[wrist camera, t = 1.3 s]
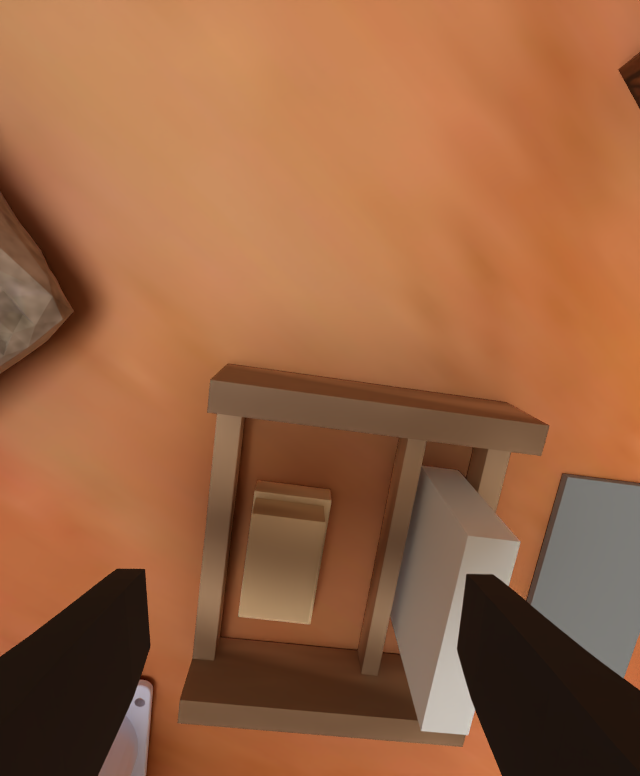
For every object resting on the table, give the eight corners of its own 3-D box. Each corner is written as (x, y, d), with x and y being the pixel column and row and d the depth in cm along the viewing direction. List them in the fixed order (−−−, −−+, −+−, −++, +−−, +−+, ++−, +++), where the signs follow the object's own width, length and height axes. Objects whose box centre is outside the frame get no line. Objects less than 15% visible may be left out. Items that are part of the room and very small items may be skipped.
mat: (615, 678, 23) (621, 685, 23) (507, 668, 23) (510, 674, 22) (681, 488, 21) (689, 492, 20) (562, 473, 20) (567, 477, 20)
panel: (424, 616, 22) (468, 735, 16) (389, 612, 22) (420, 730, 16) (457, 469, 20) (520, 541, 14) (420, 464, 20) (468, 535, 14)
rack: (438, 677, 23) (462, 746, 19) (197, 655, 22) (177, 723, 18) (506, 402, 19) (549, 425, 16) (227, 363, 19) (210, 380, 15)
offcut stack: (309, 603, 22) (310, 648, 19) (242, 596, 21) (232, 640, 19) (329, 486, 20) (333, 516, 18) (258, 477, 20) (250, 506, 17)
